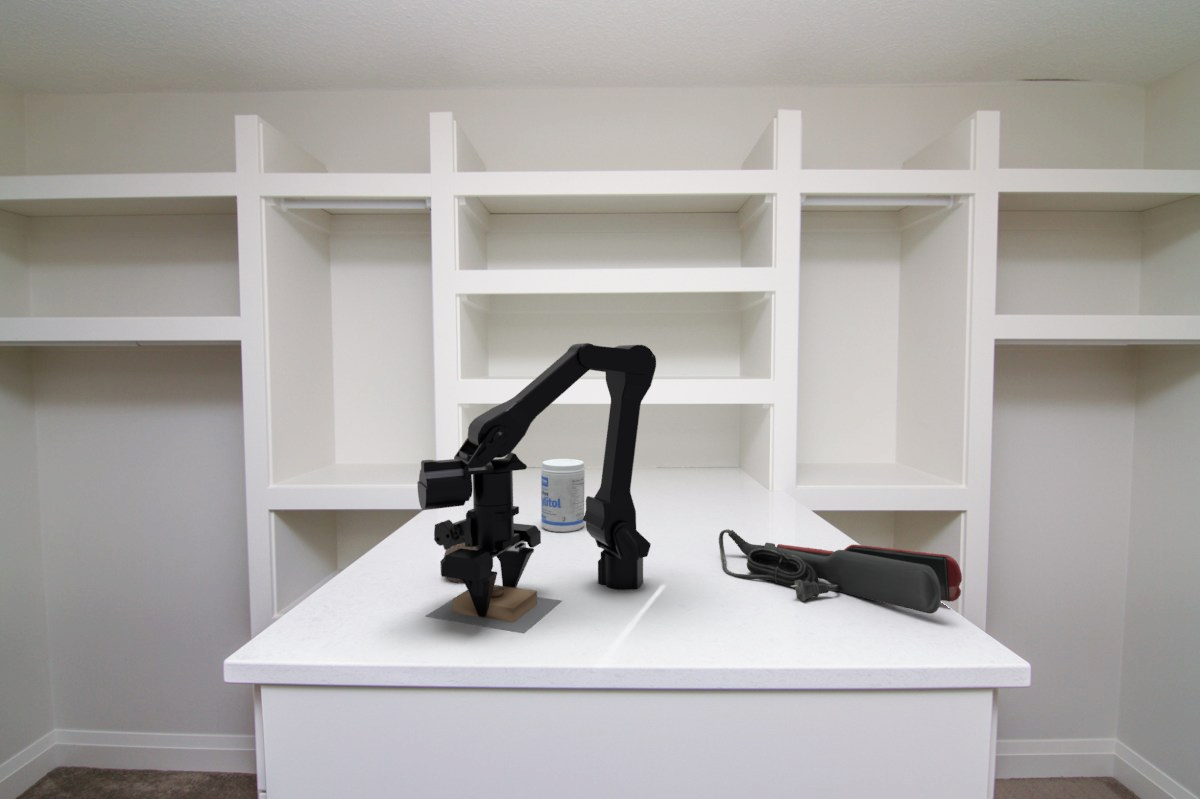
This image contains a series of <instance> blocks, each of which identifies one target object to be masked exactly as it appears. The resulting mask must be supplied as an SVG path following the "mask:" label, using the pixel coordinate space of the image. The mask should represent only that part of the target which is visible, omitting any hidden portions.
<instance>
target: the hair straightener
mask: <svg viewBox="0 0 1200 799" xmlns="http://www.w3.org/2000/svg"><path fill="white" fill-rule="evenodd" d="M726 533H727V534H728V537H729V538H731V539H732V541H733V542H734V544H735V545H736V546H737V547H738V548H739V550H740V551H741V552H742V553H743V554H744V555H745V556H747V559H746V560H747V562H746V569H747V571H749V572H750V573H752V574H746V573H745V574H742V573H735V572H732V571H731V570H729V569H728V568H727V558H726V552H725V547H724V535H725V534H726ZM718 545H719V546H718V547H719V555H720V559H721V566H722V569H723V571H724V573H725V574H726V575H728V576H731V577H734V578H736V579H743V580H767V581H770V582H775V583H777V584H778V585H783V586H786V587H789V588H792V589H794V590H795V594H796V599H797V600H798V601H800V602H806V600H807V599H812V598H817V597H819V596H820V595H821V594H828V593H829V592H830V591H831V592H832V591H834V592H835V591H838V592H840V593H843V594H847V595H850V596H854V597H857V598H858V597H859V598H863V599H867V600H871V601H875V602H880V603H883V604H888V605H892V606H896V607H900V608H904V609H905V608H906V609H910V610H912V611H916V612H920V613H925V614H934V613H936V612H937V611H938V610H939V608H940V606H941V601H943V602H944V601H945V602H948V603H949V602H954V601H957V600H958V599H959V598H960V596H961V595H962V590H961V589H960V585H961V582H962V580H963V578H962V577H963V575H962V574H963V573H962V571H961V567H960V565H959V563H958V562H957V560H956V559H955V558H954V557H952V556H950V555H948V554H943V553H942V554H941V553H933V552H931V553H930V552H923V551H914V550H907V549H906V550H905V549H897V548H891V547H890V548H889V547H887V548H886V547H881V546H872V545H862V544H861V545H860V544H849V545H848V546H847V547H846V548H844V549H836V550H835V551H833V550H826V549H821V548H814V547H813V548H812V547H802V546H795V545H789V544H788V545H787V544H781V543H779V544H777V545H776V544H775V543H772V542H765V544H764V545H763V544H753V543H749V542H748V541H746V540H744V538H742V537H741V535H739V534H738V533H737V532H736V531H734V529H727V528H726V529H724V530H722V531H720V532H719V535H718ZM819 579H820V580H824V581H826V582H828V583H829V584H827V583H819V582H820V581H819Z"/></svg>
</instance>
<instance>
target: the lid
mask: <svg viewBox="0 0 1200 799" xmlns="http://www.w3.org/2000/svg"><path fill="white" fill-rule="evenodd" d="M537 597H538V591H537V590H533V589H526V588H518V587H516V588H513V587H506V586H503V585H498V584H494V588H493V592H492V596H491V600H490V604H489V608H488V611H487V614H486V616H485V617H484V618H490V619H496V620H502V621H508V622H515V621H516V620H517V619H519V618H520V617H521V616H523V615H524V614H525V613H526V612H528V611H529V610H530V609H531V608H533V607H534V606H535V605H536V604H537ZM452 599H453V612H454V613H460V614H466V615H472V616H478V614H477V611H476V609H475V606H474V604H473V601H472V599H471V596H470V593H469V591H468V589H466V590H465V591H464V592H462V593H460V594H458V595H457V596H455V597H454V598H452ZM478 617H480V616H478Z"/></svg>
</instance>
